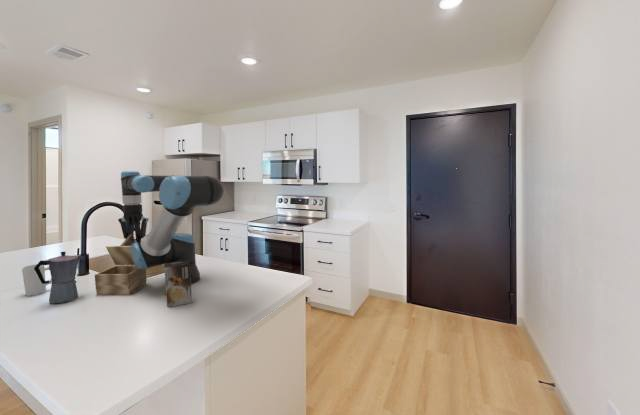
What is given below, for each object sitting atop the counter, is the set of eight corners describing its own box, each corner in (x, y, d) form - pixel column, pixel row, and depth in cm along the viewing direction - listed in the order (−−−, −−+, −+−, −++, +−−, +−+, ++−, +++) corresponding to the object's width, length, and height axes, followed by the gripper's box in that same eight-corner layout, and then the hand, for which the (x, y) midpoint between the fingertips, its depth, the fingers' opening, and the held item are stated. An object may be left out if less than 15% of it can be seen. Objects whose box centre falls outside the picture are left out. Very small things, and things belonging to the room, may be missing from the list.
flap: (142, 264, 131) (151, 251, 139) (134, 246, 125) (144, 234, 132) (115, 264, 131) (126, 251, 138) (105, 246, 125) (117, 234, 132)
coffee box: (191, 297, 119) (189, 259, 117) (192, 302, 113) (190, 263, 111) (166, 301, 114) (164, 262, 113) (166, 307, 109) (164, 267, 107)
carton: (147, 284, 133) (146, 265, 132) (130, 294, 121) (129, 274, 120) (115, 284, 132) (113, 266, 131) (95, 295, 120) (93, 274, 120)
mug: (25, 297, 118) (22, 269, 117) (24, 293, 122) (21, 266, 121) (57, 290, 126) (55, 264, 124) (55, 286, 130) (53, 261, 129)
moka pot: (91, 294, 121) (87, 248, 119) (47, 310, 107) (42, 258, 105) (77, 291, 124) (73, 247, 122) (32, 306, 110) (26, 256, 108)
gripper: (152, 203, 137) (155, 250, 140) (122, 203, 137) (125, 250, 139) (143, 204, 130) (146, 254, 132) (111, 204, 130) (115, 255, 132)
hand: (135, 252), depth 136 cm, fingers closed on flap
